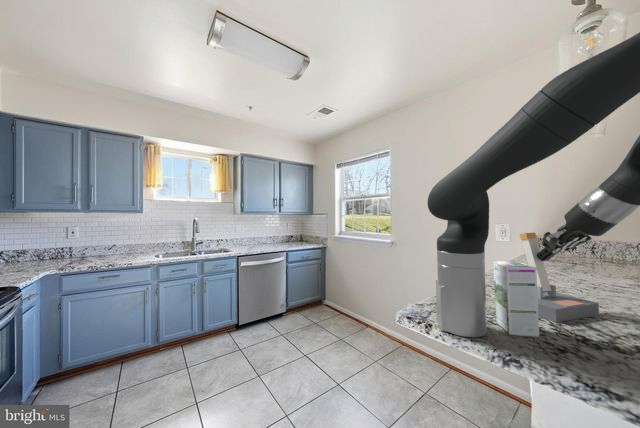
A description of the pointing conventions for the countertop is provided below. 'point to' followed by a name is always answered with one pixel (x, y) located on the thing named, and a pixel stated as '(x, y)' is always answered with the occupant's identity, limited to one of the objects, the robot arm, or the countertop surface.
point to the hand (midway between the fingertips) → (541, 258)
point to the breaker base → (564, 306)
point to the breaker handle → (535, 259)
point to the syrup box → (516, 298)
